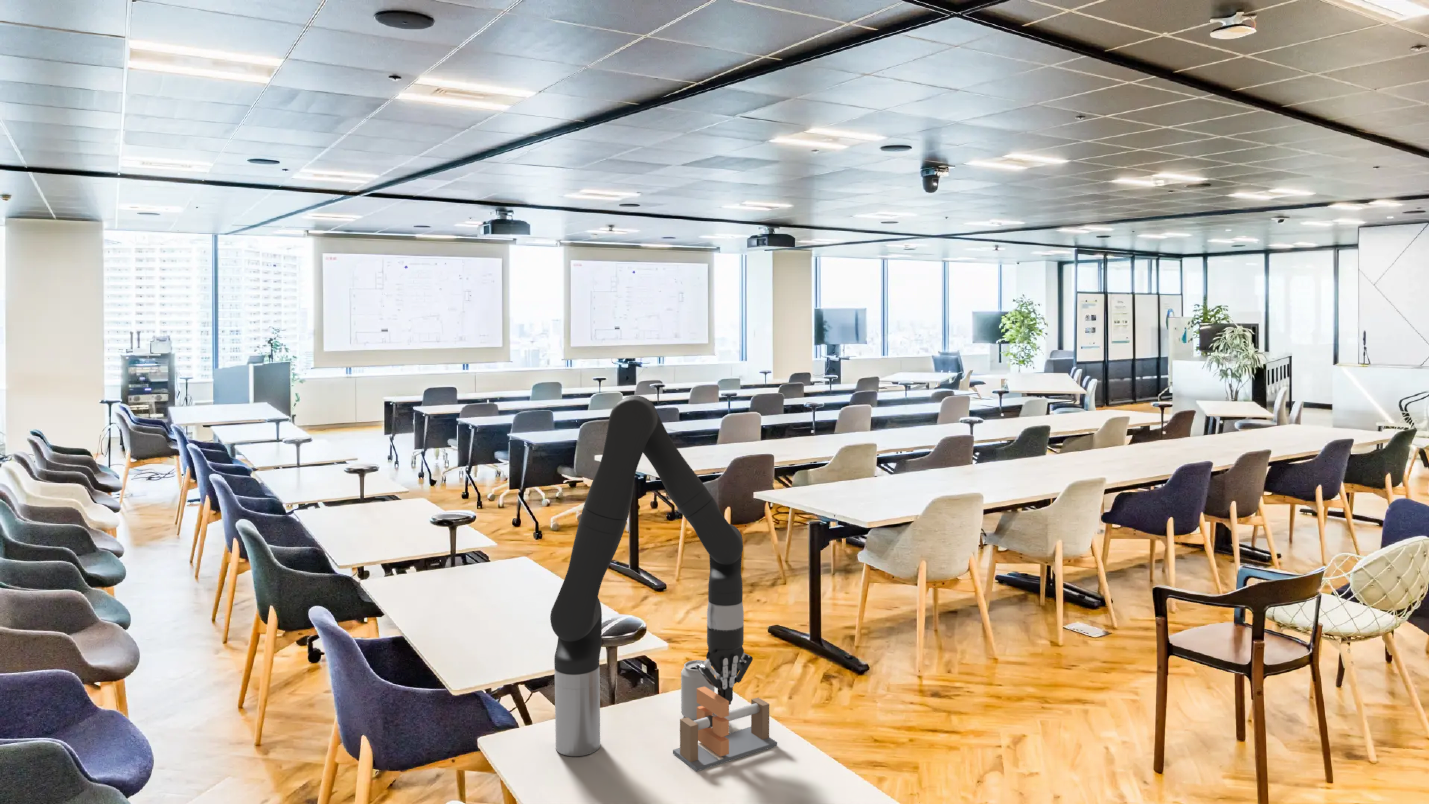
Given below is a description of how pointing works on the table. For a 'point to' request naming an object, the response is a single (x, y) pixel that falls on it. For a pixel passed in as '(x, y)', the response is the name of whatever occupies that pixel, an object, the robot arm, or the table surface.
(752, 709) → the pipe stand
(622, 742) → the table surface
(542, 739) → the table surface
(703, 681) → the can
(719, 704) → the collar
